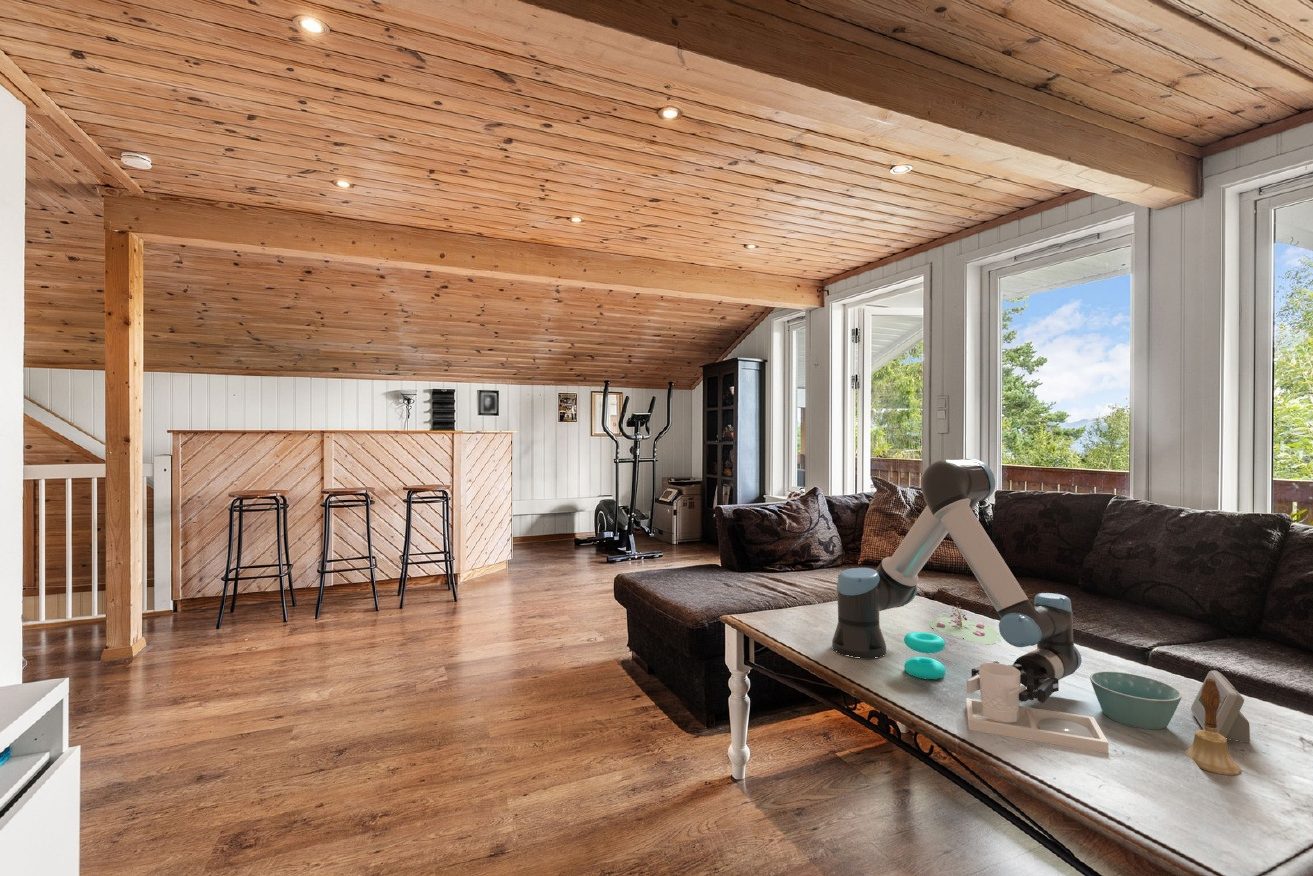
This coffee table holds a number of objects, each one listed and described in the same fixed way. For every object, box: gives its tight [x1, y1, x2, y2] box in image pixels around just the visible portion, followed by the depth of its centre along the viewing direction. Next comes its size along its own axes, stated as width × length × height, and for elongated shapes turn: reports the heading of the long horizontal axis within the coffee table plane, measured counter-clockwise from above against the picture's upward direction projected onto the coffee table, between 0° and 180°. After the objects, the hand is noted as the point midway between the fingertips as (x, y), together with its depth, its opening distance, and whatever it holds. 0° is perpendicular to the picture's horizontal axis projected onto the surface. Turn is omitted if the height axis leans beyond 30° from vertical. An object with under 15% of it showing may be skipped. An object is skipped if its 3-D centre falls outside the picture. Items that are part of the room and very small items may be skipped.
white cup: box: [978, 662, 1021, 723], centre depth 130 cm, size 8×8×10 cm
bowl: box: [1089, 671, 1183, 730], centre depth 131 cm, size 16×16×8 cm
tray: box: [965, 697, 1110, 754], centre depth 127 cm, size 24×12×3 cm, turn 65°
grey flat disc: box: [1038, 718, 1091, 738], centre depth 125 cm, size 9×9×1 cm
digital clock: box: [1190, 670, 1251, 743], centre depth 127 cm, size 16×9×11 cm, turn 138°
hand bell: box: [1185, 679, 1242, 776], centre depth 114 cm, size 8×8×16 cm
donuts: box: [903, 631, 947, 680], centre depth 160 cm, size 10×10×10 cm
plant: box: [929, 601, 1002, 646], centre depth 195 cm, size 25×21×9 cm
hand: (988, 693), depth 127 cm, fingers closed on white cup, 8 cm apart
